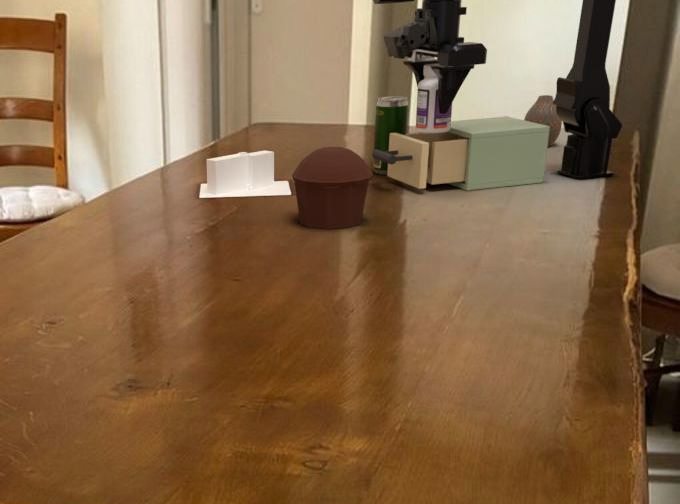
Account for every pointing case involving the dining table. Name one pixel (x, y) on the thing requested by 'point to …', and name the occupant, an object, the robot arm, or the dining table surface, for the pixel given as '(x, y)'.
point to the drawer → (425, 158)
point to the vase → (545, 116)
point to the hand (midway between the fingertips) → (434, 111)
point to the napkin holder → (243, 176)
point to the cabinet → (502, 152)
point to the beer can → (388, 125)
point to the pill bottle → (430, 105)
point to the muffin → (331, 188)
